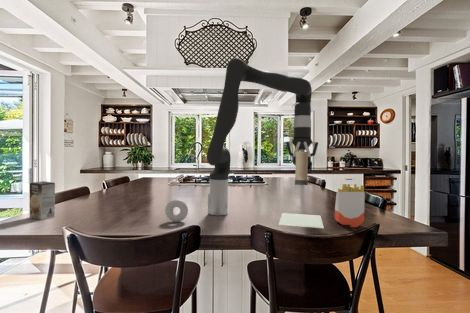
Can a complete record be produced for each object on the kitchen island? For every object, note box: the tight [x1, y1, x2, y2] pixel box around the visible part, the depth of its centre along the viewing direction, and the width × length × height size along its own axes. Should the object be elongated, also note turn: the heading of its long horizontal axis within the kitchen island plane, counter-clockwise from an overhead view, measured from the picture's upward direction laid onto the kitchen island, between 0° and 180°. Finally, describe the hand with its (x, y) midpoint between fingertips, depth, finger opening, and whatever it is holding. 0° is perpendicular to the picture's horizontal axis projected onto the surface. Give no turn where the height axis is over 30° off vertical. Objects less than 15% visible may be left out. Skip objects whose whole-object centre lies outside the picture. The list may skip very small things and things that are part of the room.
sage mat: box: [278, 212, 325, 229], centre depth 122 cm, size 18×22×1 cm
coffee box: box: [29, 181, 56, 221], centre depth 125 cm, size 9×6×16 cm
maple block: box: [294, 151, 309, 186], centre depth 122 cm, size 5×14×10 cm
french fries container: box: [334, 183, 366, 228], centre depth 117 cm, size 5×11×18 cm, turn 91°
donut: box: [164, 198, 189, 223], centre depth 120 cm, size 10×4×10 cm, turn 89°
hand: (301, 165), depth 121 cm, fingers closed on maple block, 5 cm apart
